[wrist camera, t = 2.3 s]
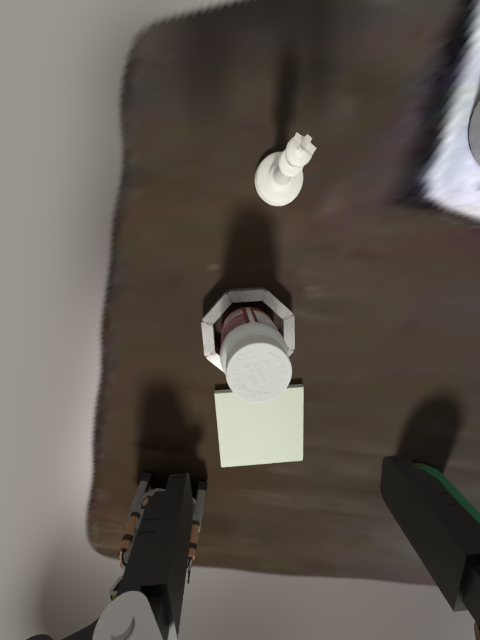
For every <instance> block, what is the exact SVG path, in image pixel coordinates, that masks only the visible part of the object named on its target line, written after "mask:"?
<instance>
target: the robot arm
mask: <svg viewBox="0 0 480 640" xmlns="http://www.w3.org/2000/svg"><path fill="white" fill-rule="evenodd" d="M469 143H470V147H471V152H472V154H473V156H474V158H475V160H476V161H477V162H478V164H479V165H480V99H479V101H478V103H477V105H476V107H475V109H474V112H473V115H472V118H471V122H470V128H469ZM380 488H381V493H382V497H383V499H384V502H385V503H386V505H387V507H388V508H389V510H390V512H391V513H392V515H393V516H394V518H395V519H396V521H397V523H398V524H399V526H400V527H401V529H402V531H403V532H404V534H405V535H406V537H407V538H408V540H409V542H410V543H411V545H412V546H413V548H414V549H415V551H416V553H417V554H418V556H419V557H420V559H421V561H422V562H423V564H424V565H425V567H426V568H427V570H428V572H429V573H430V575H431V576H432V578H433V580H434V581H435V583H436V584H437V586H438V587H439V589H440V591H441V592H442V594H443V595H444V597H445V598H446V600H447V602H448V603H449V605H450V606H451V608H452V609H453V611H454V612H455V611H463V610H468V611H469V612H470V614H471V615H472V617H473V618H474V620H475V624H474V630H475V638H476V640H480V524H479V523H478V522H477V521H476V520H475V519H474V518H473V517H472V516H471V514H470V513H469V512H468V511H467V510H466V509H465V508H464V507H463V506H461V505H460V503H459V502H458V501H457V499H456V498H455V497H454V496H453V495H451V494H450V492H449V491H448V490H447V489H446V488H445V487H444V485H443V484H442V483H441V482H440V481H439V480H438V479H437V478H435V477H434V476H432V475H431V474H429V473H428V472H427V471H425V470H424V469H422V468H421V469H417V468H416V467H415V465H414V464H413V463H412V462H411V461H410V460H409V459H408V458H407V457H406V456H404V455H399V456H387V457H384V458H383V464H382V474H381V484H380ZM192 523H193V499H192V491H191V484H190V476H189V473H185V474H174V475H170V476H169V478H168V482H167V486H166V489H165V491H156V492H155V493H154V494H153V496H152V497H151V498H150V500H149V501H148V503H147V504H146V506H145V509H144V512H143V515H142V519H141V523H140V525H139V528H138V531H137V536H136V537H135V540H134V543H133V546H132V550H131V553H130V556H129V559H128V562H127V565H126V568H125V571H124V574H123V577H122V581H121V584H120V587H119V589H118V592H117V594H116V596H115V598H114V600H113V601H112V602H111V603H110V604H109V605H108V606H107V607H106V609H105V610H104V611H103V613H102V615H101V616H100V617H99V618H98V619H97V620H96V621H94V622H93V623H92V624H90V625H89V626H87V627H86V628H84V629H82V630H80V631H78V632H76V633H74V634H72V635H70V636H68V637H66V638H64V639H62V640H177V639H178V632H179V624H180V615H181V608H182V601H183V593H184V585H185V577H186V570H187V562H188V554H189V546H190V539H191V531H192ZM27 640H53V639H52V638H51V637H50V636H48V635H44V634H40V635H36V636H33V637H31V638H29V639H27Z"/></svg>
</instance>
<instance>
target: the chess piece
mask: <svg viewBox="0 0 480 640" xmlns="http://www.w3.org/2000/svg"><path fill="white" fill-rule="evenodd" d="M311 140H312V138H311V137H310V136H309V135H308V134H307V135H306V136H305V137H304V136H301V135H300V134H299V133H296V135H295V136H294V137H293V138H292V139H291V140H290V141H289V142H288V144H287V146H286V149H285V150H284V151H283V152H275V153H272V154H270V155H268V156H267V157H266V158H265V159H264V160H263V161H262V162H261V163H260V164H259V166H258V168H257V171H256V174H255V186H256V190H257V192H258V194H259V196H260V197H261V198H262V200H264V201H265V202H266V203H268V204H270V205H273V206H283V205H286V204H288V203H290V202H291V201H293V200H294V199H295V198H296V196H297V195H298V193H299V192H300V190H301V187H302V184H303V171H302V169H303V167H304V165H306V164H307V163H308V162H309V161H310V159H311V157H312V154H313V153H314V151H315V150H316V147H315V146H313V145H312V144H311V142H310V141H311Z"/></svg>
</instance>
